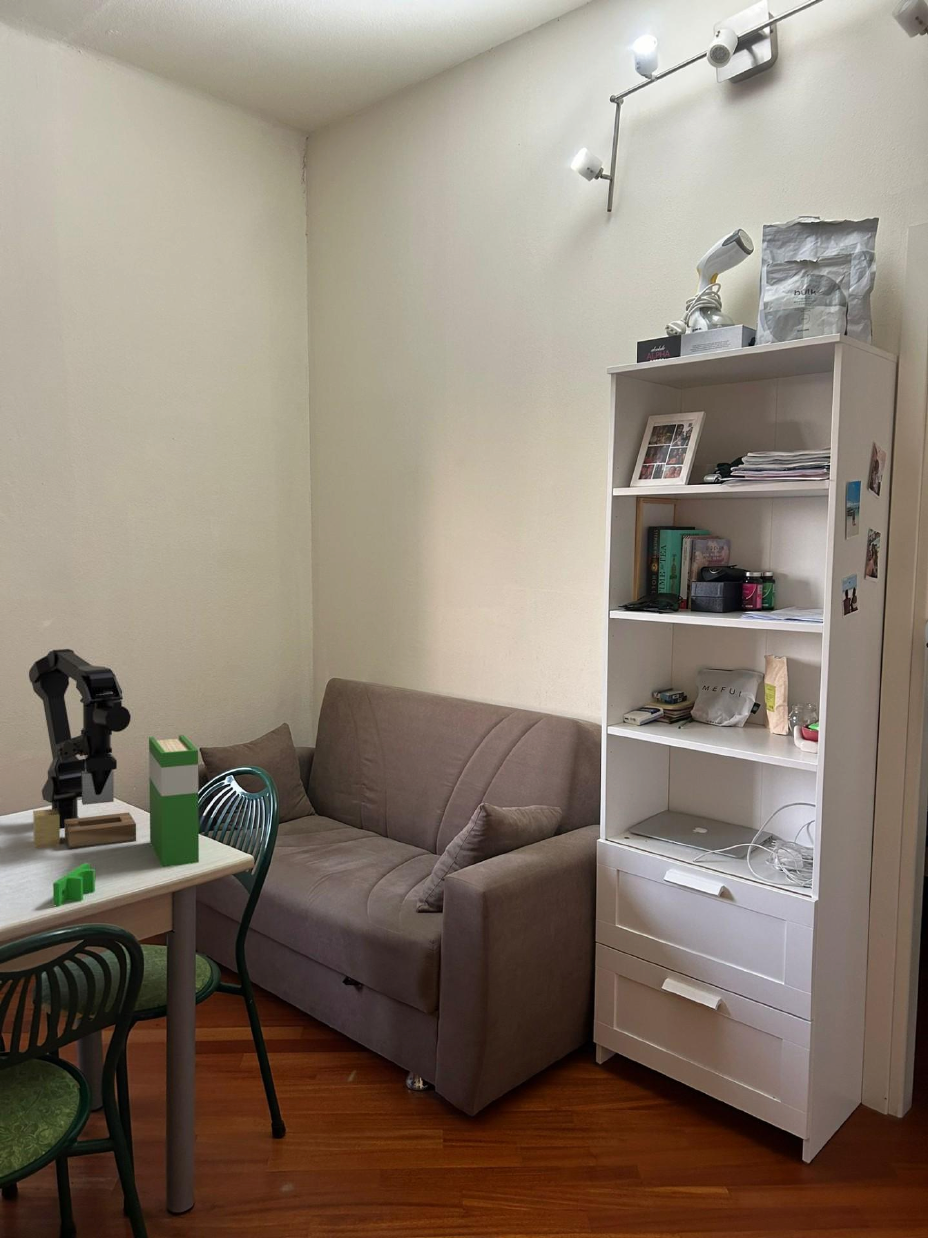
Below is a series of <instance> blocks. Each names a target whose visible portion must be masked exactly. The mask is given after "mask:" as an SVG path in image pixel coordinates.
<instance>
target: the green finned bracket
mask: <svg viewBox="0 0 928 1238" xmlns="http://www.w3.org/2000/svg"><path fill="white" fill-rule="evenodd" d="M95 872H96V869H94V868H91V864H90V862H89V863H88V862H84V863H82V864H81V865H79V866H78V867H76V868H75V869H73V870H72V871H69V872H68V873H67V874H65V875H64V876H62V877H61V878H59V879H58V880H56V881H54V882H53V883H52V888H53V889H52V890H53V891H52V892H53V894H52V896H53V898H52V899H53V906H54V905H56V906H55V907H60V905H61V904H62V905H63V904H65V903H66V902H68V901H69V902H70V901H73V902H81V901H84V895H85V894H87V893H88V894H89V893H94V892H96V883H95V882H96V878H95V877H96V873H95ZM62 905H61V906H62Z"/></svg>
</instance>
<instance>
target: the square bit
mask: <svg viewBox="0 0 928 1238" xmlns="http://www.w3.org/2000/svg"><path fill="white" fill-rule="evenodd" d="M32 817H33V818H32V820H33V821H32V822H33V829H32V830H33V844H34V848H35V849H39V848H45V847H46V848H47V847H52V846H54V847H55V846H60V845H61V834H60V833H61V831H60V830H61V829H60V828H61V827H60V822H59V812H58V809H52V808H49V809H42V810H39V809H38V810H32Z"/></svg>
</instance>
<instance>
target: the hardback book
mask: <svg viewBox="0 0 928 1238" xmlns="http://www.w3.org/2000/svg"><path fill="white" fill-rule="evenodd" d="M148 745H149V746H148V760H149V761H148V763H149V767H148V768H149V773H148V774H149V780H148V781H149V844H150V845H151V847H152V849H153V852H154V854H155V855H156V857H157V859H158V862H159V864H160V866H161V867H162V868H167V867H172V866H173V867H174V866H175V867H176V866H180V865H188V864H189V863H190V864H196V863H199V862H200V859H199V858H200V856H199V854H200V852H199V851H200V848H199V847H200V845H199V841H200V839H199V833H200V832H199V829H200V827H199V825H200V824H199V823H200V822H199V820H200V817H199V750H198V748H196V746H194V744H192V742H191V741H190V740H189V739H188V738H187V737H186V736H185V735H184V734H179V735H178V738H171V739H170V738H169V739H159V740H158V739H155V737H153V736H152V737H151V736H150V737H148Z"/></svg>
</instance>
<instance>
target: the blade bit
mask: <svg viewBox="0 0 928 1238" xmlns="http://www.w3.org/2000/svg"><path fill="white" fill-rule="evenodd" d="M81 780H82V797H81V805H82V806H83V805H84V806H86V805H94V804H95V805H96V804H103V803H105V804H107V803H114V801H115V800H114V799H115V798H114V797H115V796H114V793H115V791H114V786H115V785H114V780H115V778H114V770H112V771H111V773H110V775H109V777H108V779H107V781H106V784H105V786H104V788H103V791H102V793H101V794H100V795H96V794H95V789H94V785H93V780H92V775H91V773H90V772H88V771H81Z"/></svg>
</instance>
